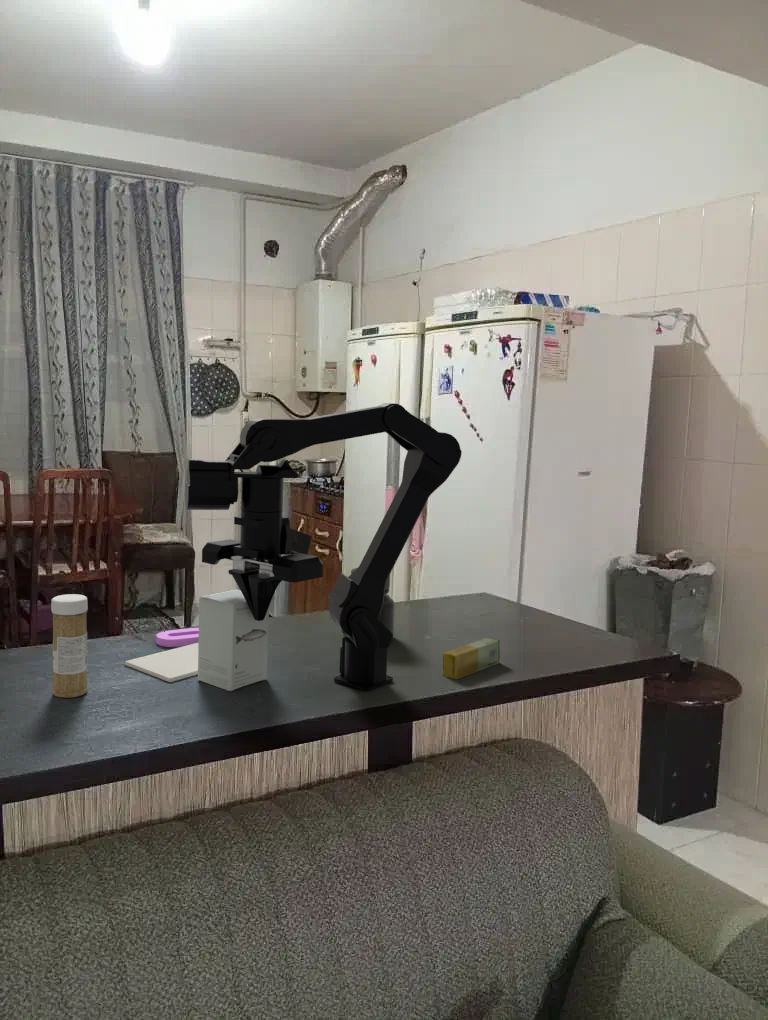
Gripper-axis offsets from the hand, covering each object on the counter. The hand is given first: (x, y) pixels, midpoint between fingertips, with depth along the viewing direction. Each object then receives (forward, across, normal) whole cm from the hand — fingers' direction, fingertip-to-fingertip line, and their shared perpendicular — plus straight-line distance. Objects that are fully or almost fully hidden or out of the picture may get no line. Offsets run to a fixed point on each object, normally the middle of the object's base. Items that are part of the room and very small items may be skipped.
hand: (259, 620), depth 114 cm
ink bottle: (+10, +5, -31) cm, 33 cm away
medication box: (+10, -17, -30) cm, 36 cm away
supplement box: (+10, +5, 0) cm, 12 cm away
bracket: (+10, +25, -9) cm, 29 cm away
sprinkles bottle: (+10, +17, +19) cm, 27 cm away
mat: (+10, +16, 0) cm, 19 cm away
